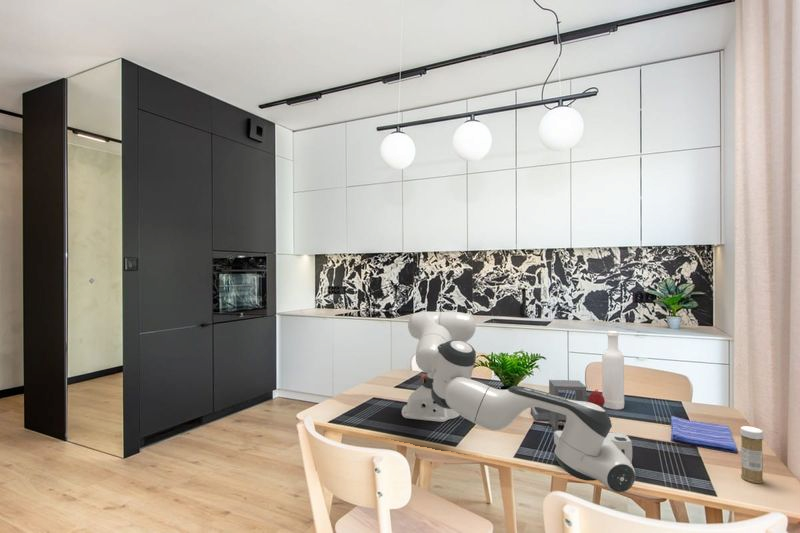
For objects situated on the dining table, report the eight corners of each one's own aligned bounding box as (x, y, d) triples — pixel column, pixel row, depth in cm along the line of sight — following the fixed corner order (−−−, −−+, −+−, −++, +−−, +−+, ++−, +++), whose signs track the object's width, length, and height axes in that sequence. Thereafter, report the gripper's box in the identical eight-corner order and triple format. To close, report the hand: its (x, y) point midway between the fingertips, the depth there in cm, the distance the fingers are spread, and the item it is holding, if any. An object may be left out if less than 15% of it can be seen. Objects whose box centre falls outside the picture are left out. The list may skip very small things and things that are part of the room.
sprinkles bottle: (762, 479, 112) (762, 428, 112) (763, 486, 109) (763, 433, 109) (740, 473, 115) (740, 424, 115) (740, 480, 111) (740, 429, 111)
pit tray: (535, 420, 155) (535, 414, 155) (530, 412, 164) (530, 406, 164) (592, 422, 152) (592, 416, 152) (584, 414, 161) (584, 407, 161)
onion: (606, 412, 163) (606, 392, 163) (590, 411, 164) (590, 391, 164) (602, 407, 168) (602, 387, 168) (586, 406, 169) (586, 386, 169)
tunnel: (554, 430, 146) (554, 386, 146) (549, 421, 154) (549, 379, 154) (586, 431, 144) (586, 387, 144) (579, 422, 152) (579, 380, 152)
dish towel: (670, 443, 136) (670, 434, 136) (670, 420, 156) (670, 412, 156) (739, 456, 126) (739, 447, 126) (729, 430, 147) (729, 422, 147)
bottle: (617, 411, 164) (617, 333, 164) (598, 405, 171) (598, 331, 171) (628, 406, 169) (627, 331, 169) (608, 401, 176) (608, 329, 175)
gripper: (559, 460, 118) (548, 439, 132) (637, 463, 116) (617, 442, 130) (559, 437, 118) (548, 419, 132) (637, 440, 116) (617, 422, 130)
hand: (583, 431), depth 131 cm, fingers open, 8 cm apart
